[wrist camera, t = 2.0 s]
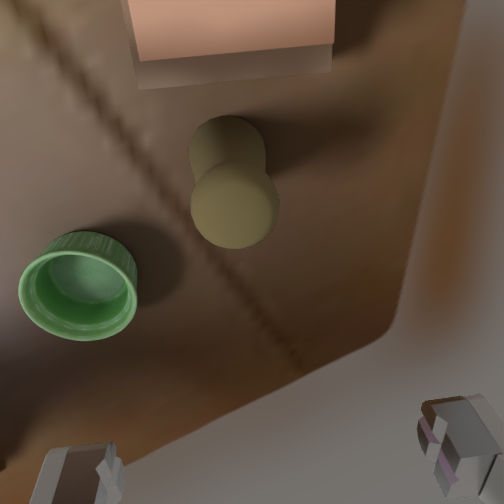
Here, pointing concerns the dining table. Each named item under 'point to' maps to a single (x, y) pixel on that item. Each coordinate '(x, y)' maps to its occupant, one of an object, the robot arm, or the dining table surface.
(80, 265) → the ramekin
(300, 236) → the dining table surface
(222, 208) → the cork
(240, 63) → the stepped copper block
